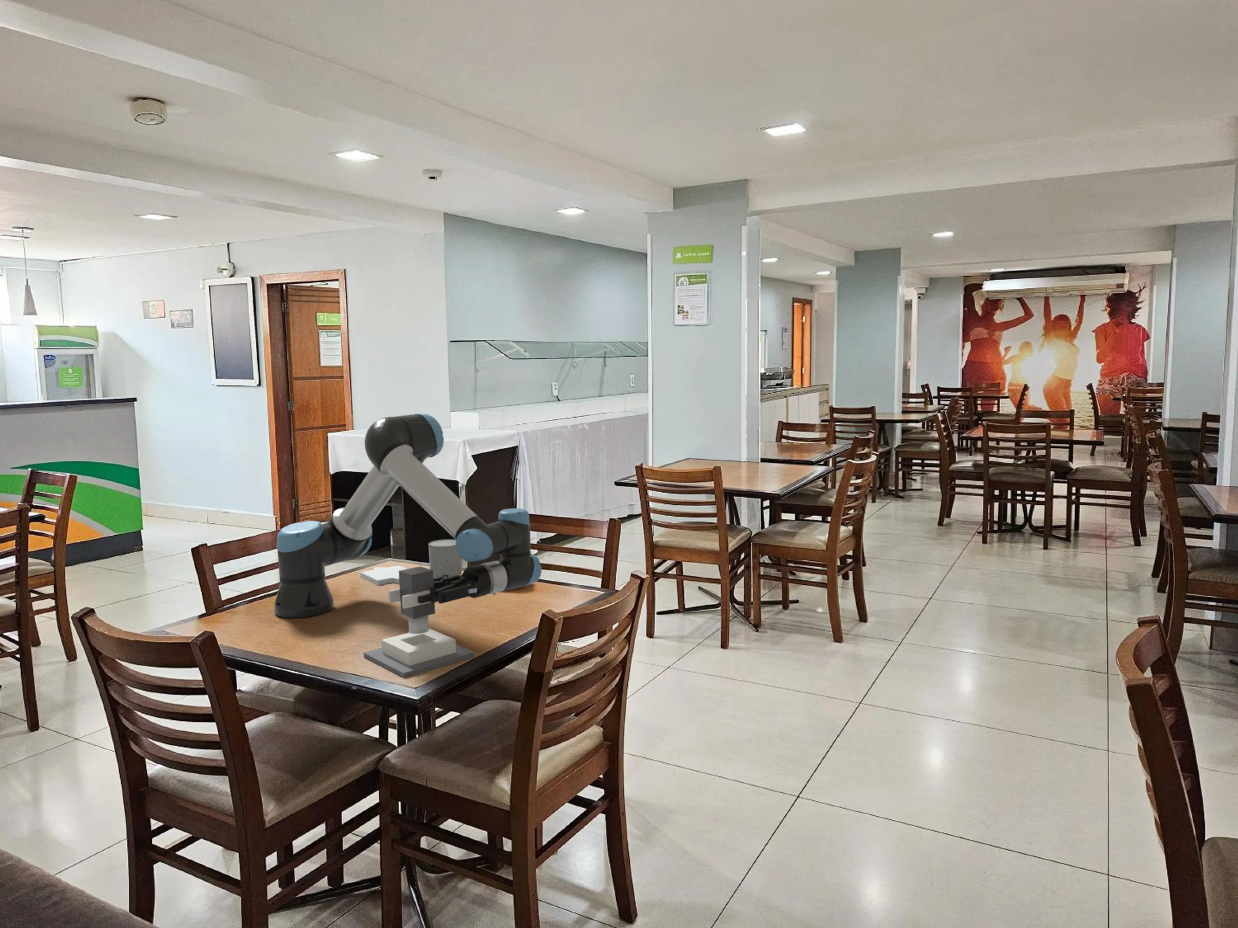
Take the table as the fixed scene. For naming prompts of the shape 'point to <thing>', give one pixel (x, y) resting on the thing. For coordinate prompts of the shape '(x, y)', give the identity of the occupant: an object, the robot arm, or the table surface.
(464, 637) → the table surface
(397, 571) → the mounting plate
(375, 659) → the socket
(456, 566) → the grey cylinder
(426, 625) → the plug
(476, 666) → the table surface
